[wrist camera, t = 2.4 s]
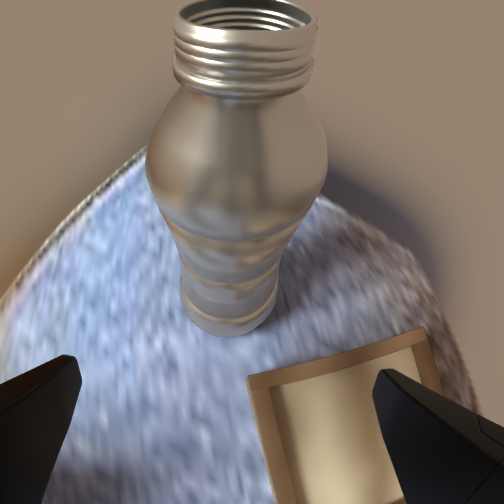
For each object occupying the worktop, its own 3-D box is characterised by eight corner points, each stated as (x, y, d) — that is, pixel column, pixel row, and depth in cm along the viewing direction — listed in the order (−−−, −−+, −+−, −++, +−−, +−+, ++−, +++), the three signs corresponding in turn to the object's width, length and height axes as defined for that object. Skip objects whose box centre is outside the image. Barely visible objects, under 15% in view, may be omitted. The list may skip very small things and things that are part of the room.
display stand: (285, 541, 15) (294, 556, 12) (245, 380, 21) (248, 375, 18) (439, 477, 17) (461, 480, 15) (404, 337, 23) (423, 326, 21)
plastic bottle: (166, 298, 23) (73, 24, 6) (232, 246, 26) (252, -22, 9) (224, 363, 21) (227, 106, 4) (290, 302, 24) (413, 41, 7)
